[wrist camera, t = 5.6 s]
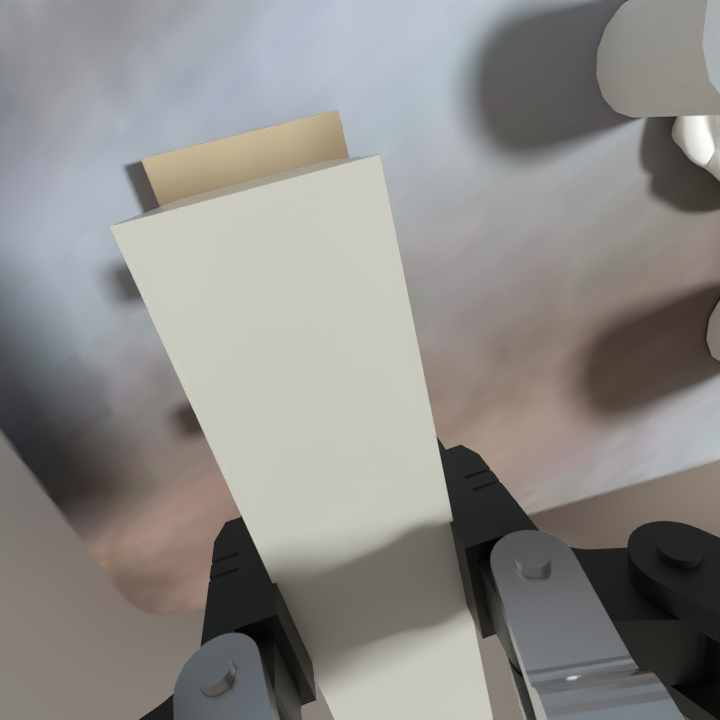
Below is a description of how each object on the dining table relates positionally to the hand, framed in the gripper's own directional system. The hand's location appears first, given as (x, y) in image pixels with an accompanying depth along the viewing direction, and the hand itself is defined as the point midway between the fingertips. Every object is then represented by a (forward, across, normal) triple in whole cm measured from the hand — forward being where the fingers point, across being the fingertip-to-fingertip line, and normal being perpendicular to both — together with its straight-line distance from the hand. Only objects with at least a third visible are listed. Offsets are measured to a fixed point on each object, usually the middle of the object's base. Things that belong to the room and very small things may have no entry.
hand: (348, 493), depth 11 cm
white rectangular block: (+2, 0, 0) cm, 2 cm away
